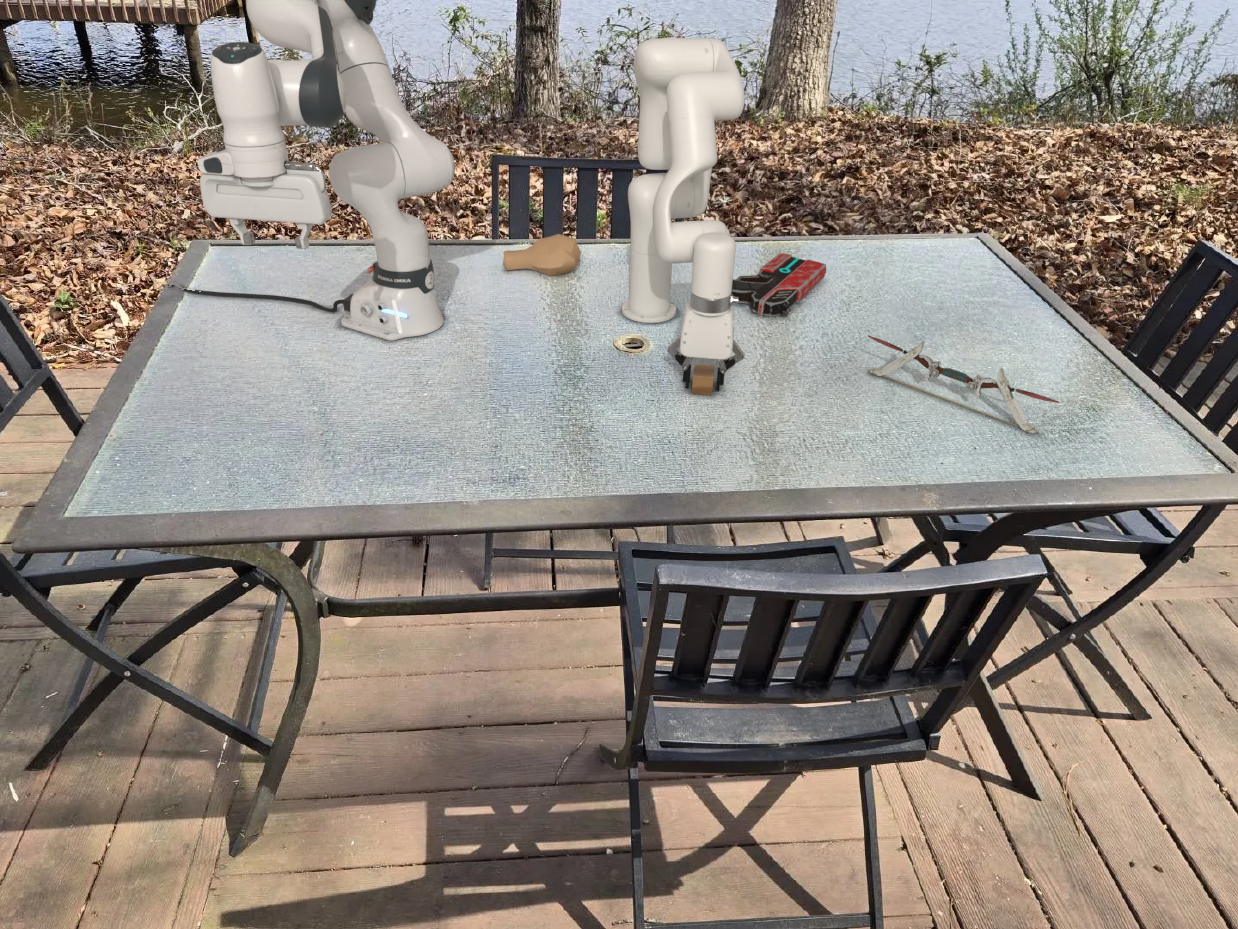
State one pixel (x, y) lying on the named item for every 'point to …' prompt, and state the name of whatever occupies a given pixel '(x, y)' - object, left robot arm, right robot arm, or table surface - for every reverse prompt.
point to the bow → (972, 384)
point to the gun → (778, 284)
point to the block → (703, 379)
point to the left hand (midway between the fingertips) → (275, 245)
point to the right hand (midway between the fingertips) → (702, 385)
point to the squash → (546, 256)
